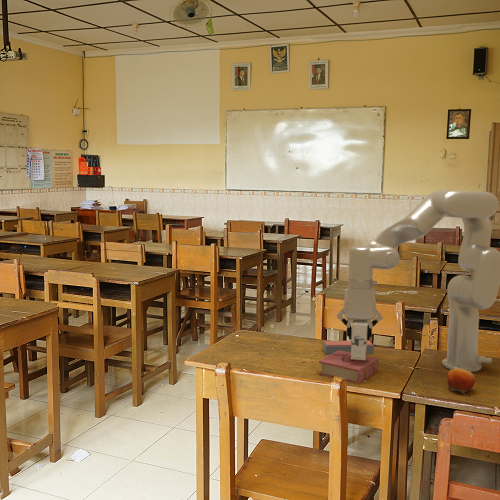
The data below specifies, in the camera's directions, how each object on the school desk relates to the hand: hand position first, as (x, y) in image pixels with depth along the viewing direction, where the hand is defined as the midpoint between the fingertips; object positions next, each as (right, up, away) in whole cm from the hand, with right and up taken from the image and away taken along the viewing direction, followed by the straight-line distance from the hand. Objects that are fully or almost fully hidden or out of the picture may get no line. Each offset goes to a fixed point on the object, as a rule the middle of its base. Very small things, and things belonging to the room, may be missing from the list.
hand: (359, 338), depth 176 cm
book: (-3, -13, +3) cm, 13 cm away
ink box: (0, -6, +1) cm, 6 cm away
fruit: (+29, -14, -12) cm, 34 cm away
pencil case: (+1, -9, +26) cm, 28 cm away
